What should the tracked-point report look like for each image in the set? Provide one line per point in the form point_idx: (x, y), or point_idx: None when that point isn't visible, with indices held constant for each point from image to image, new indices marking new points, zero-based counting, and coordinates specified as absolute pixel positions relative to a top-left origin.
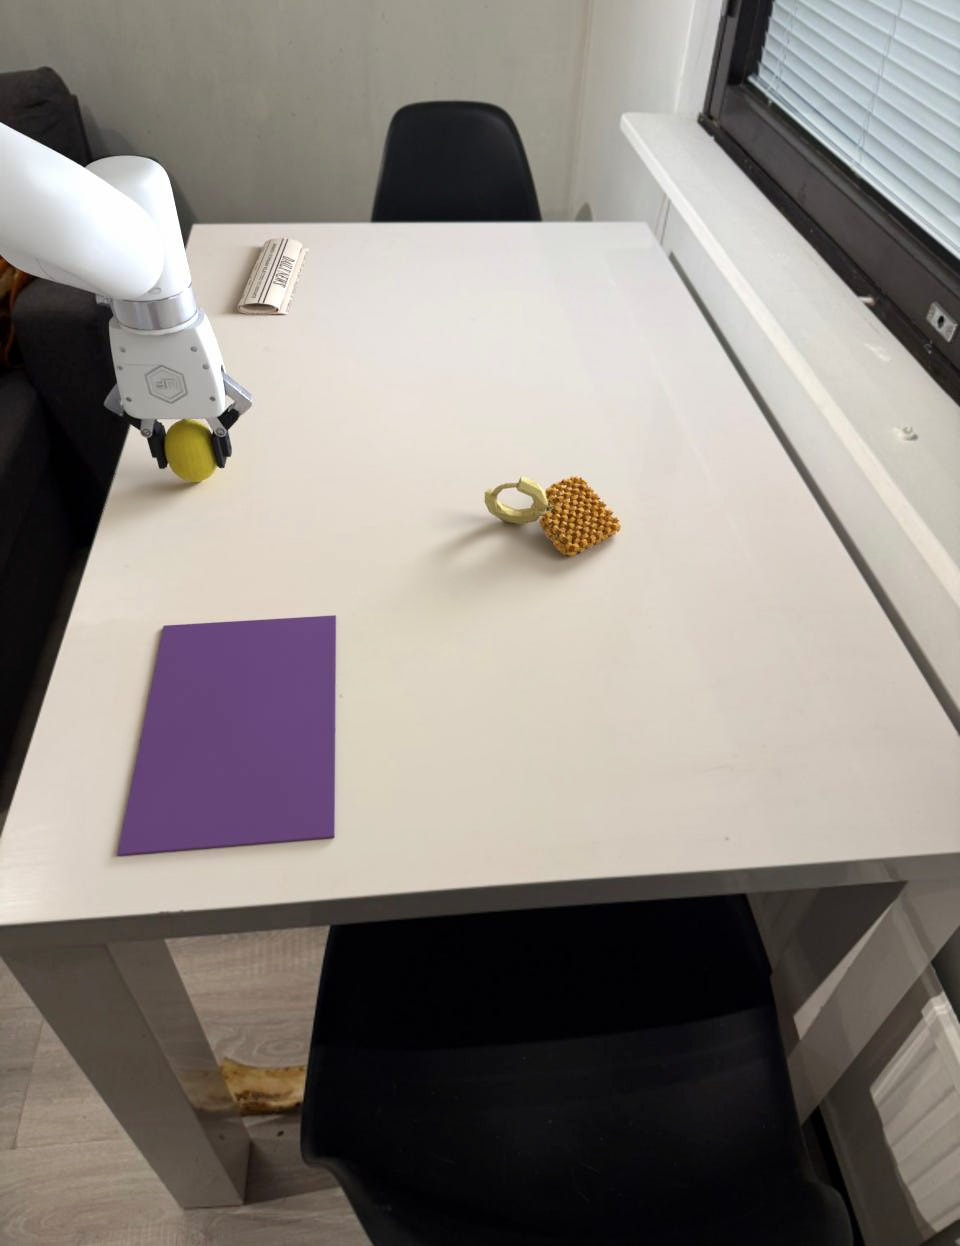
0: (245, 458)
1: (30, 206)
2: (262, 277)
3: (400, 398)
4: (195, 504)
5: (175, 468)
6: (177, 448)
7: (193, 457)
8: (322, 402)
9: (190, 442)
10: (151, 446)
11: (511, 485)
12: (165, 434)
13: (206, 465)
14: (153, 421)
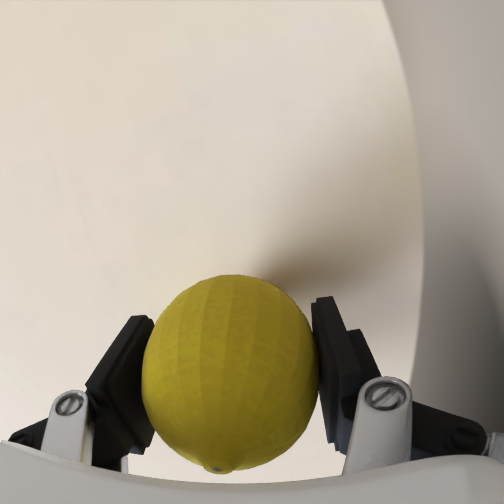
0: None
1: None
2: None
3: None
4: (217, 212)
5: (268, 289)
6: (236, 344)
7: (181, 317)
8: (131, 473)
9: (176, 371)
10: (363, 355)
11: None
12: (324, 413)
13: (165, 310)
14: (348, 456)
